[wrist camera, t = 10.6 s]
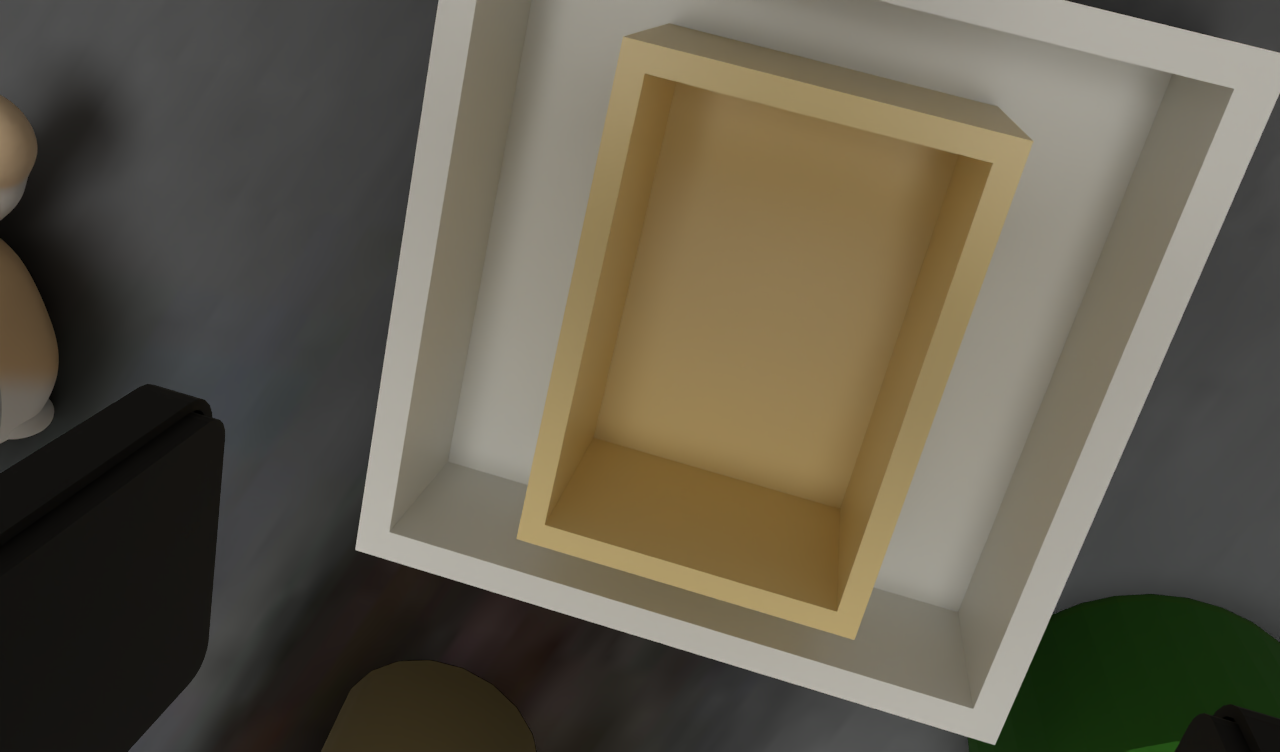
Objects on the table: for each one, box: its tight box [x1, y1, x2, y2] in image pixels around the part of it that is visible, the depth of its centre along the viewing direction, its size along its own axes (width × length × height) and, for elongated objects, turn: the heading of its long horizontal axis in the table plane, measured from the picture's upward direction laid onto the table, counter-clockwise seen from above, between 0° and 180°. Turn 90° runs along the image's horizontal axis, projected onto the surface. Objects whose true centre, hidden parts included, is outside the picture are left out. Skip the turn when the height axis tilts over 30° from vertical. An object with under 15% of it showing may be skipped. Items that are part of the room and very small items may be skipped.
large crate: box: [355, 0, 1280, 745], centre depth 24 cm, size 14×14×4 cm
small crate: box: [516, 23, 1033, 640], centre depth 23 cm, size 10×7×5 cm
